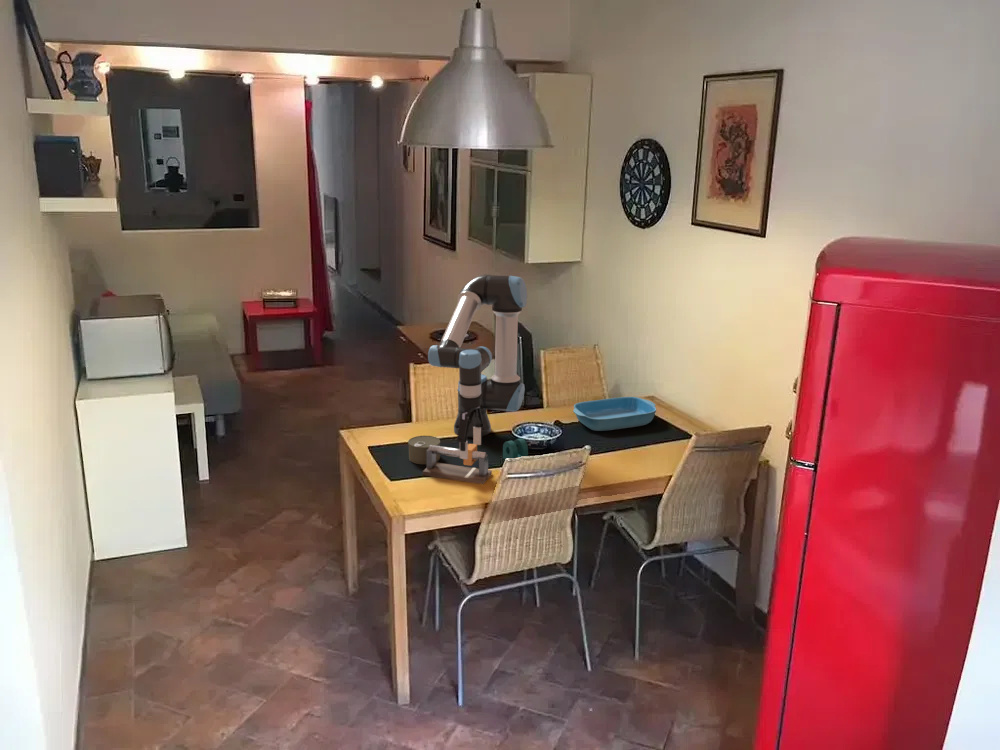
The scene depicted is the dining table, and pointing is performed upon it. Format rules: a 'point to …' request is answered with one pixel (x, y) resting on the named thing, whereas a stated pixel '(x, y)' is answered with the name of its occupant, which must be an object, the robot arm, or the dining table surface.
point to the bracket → (515, 448)
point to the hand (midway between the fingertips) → (470, 451)
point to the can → (421, 448)
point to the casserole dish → (615, 413)
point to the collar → (470, 455)
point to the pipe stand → (454, 470)
